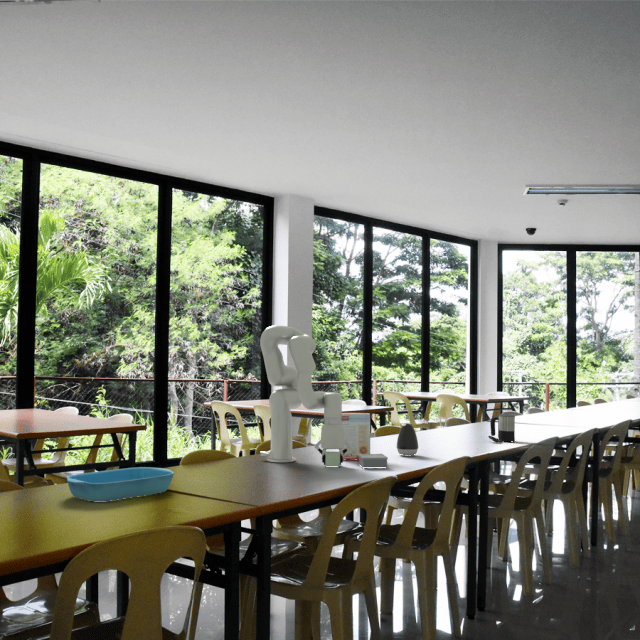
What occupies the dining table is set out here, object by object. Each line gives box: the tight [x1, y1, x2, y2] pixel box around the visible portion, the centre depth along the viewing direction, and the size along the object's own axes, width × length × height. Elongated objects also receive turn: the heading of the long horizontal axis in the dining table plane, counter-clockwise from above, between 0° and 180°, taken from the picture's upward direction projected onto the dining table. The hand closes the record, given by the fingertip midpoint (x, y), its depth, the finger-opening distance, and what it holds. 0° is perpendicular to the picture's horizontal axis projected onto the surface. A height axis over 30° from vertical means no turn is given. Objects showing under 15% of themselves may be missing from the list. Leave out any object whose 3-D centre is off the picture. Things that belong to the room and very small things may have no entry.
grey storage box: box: [358, 453, 388, 468], centre depth 289 cm, size 11×11×5 cm
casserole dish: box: [66, 466, 175, 502], centre depth 228 cm, size 37×22×7 cm, turn 139°
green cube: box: [324, 450, 341, 467], centre depth 289 cm, size 6×6×6 cm
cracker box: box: [338, 412, 371, 459], centre depth 309 cm, size 14×6×21 cm, turn 84°
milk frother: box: [487, 413, 516, 443], centre depth 378 cm, size 14×16×15 cm
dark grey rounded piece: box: [396, 422, 419, 456], centre depth 323 cm, size 10×10×15 cm
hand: (332, 464), depth 289 cm, fingers closed on green cube, 6 cm apart
